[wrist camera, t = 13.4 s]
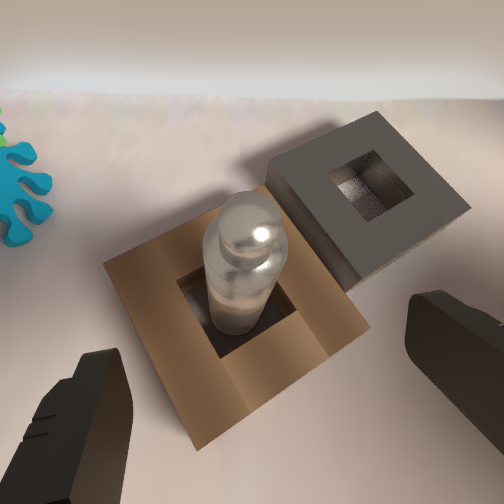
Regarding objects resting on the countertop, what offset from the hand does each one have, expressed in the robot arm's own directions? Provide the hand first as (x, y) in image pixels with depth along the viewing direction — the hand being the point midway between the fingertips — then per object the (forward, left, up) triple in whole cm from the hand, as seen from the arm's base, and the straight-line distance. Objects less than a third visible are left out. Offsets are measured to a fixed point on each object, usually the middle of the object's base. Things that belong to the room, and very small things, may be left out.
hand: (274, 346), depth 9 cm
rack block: (-2, -4, -12) cm, 13 cm away
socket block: (-14, -6, -12) cm, 19 cm away
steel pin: (-2, -4, -12) cm, 13 cm away
